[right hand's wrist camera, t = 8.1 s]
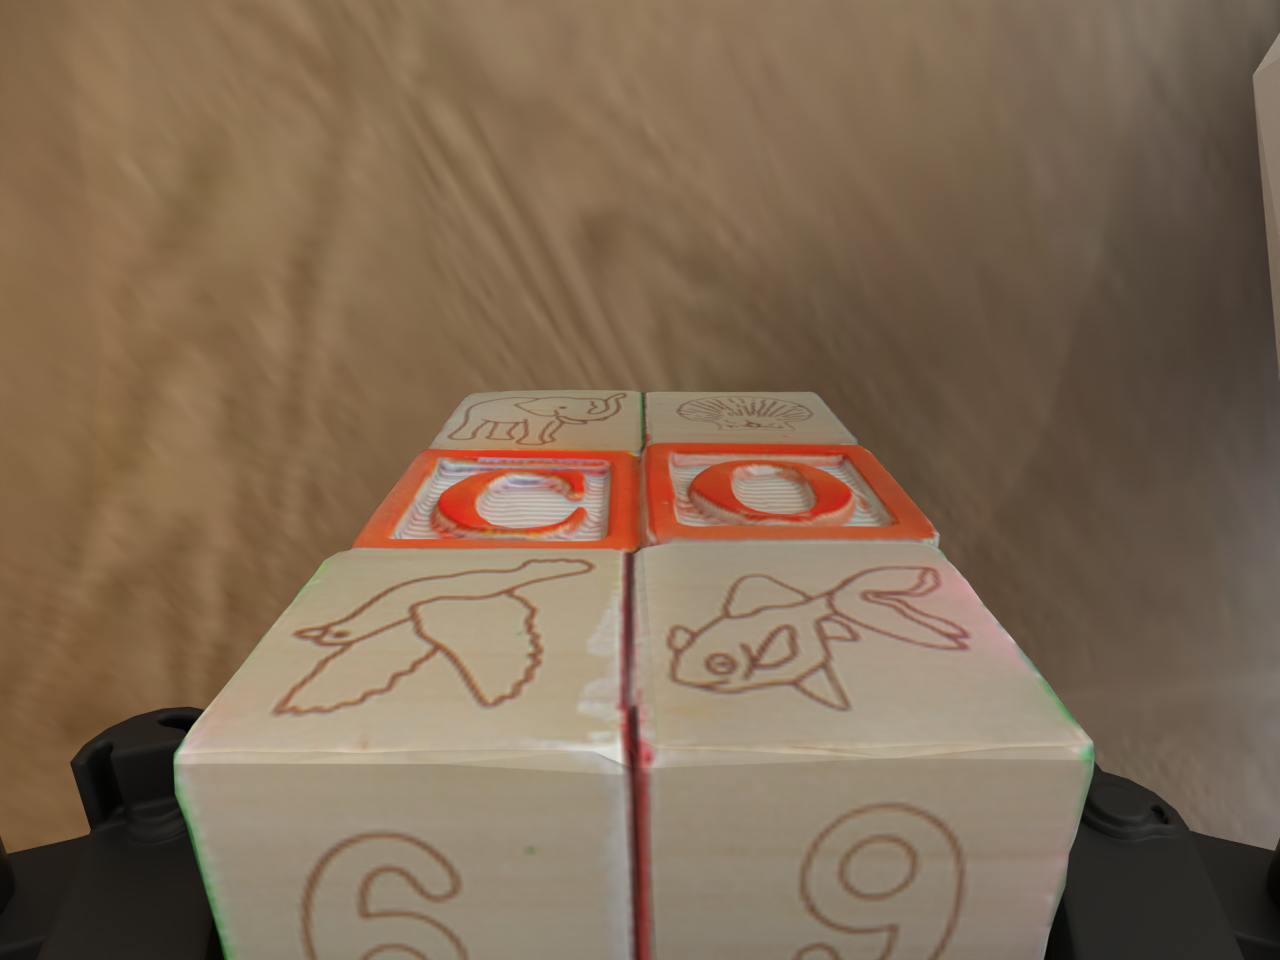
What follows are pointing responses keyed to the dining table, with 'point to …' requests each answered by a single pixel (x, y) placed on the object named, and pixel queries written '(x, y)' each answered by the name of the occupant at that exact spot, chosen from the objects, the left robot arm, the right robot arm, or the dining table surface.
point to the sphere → (1270, 165)
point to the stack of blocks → (637, 711)
